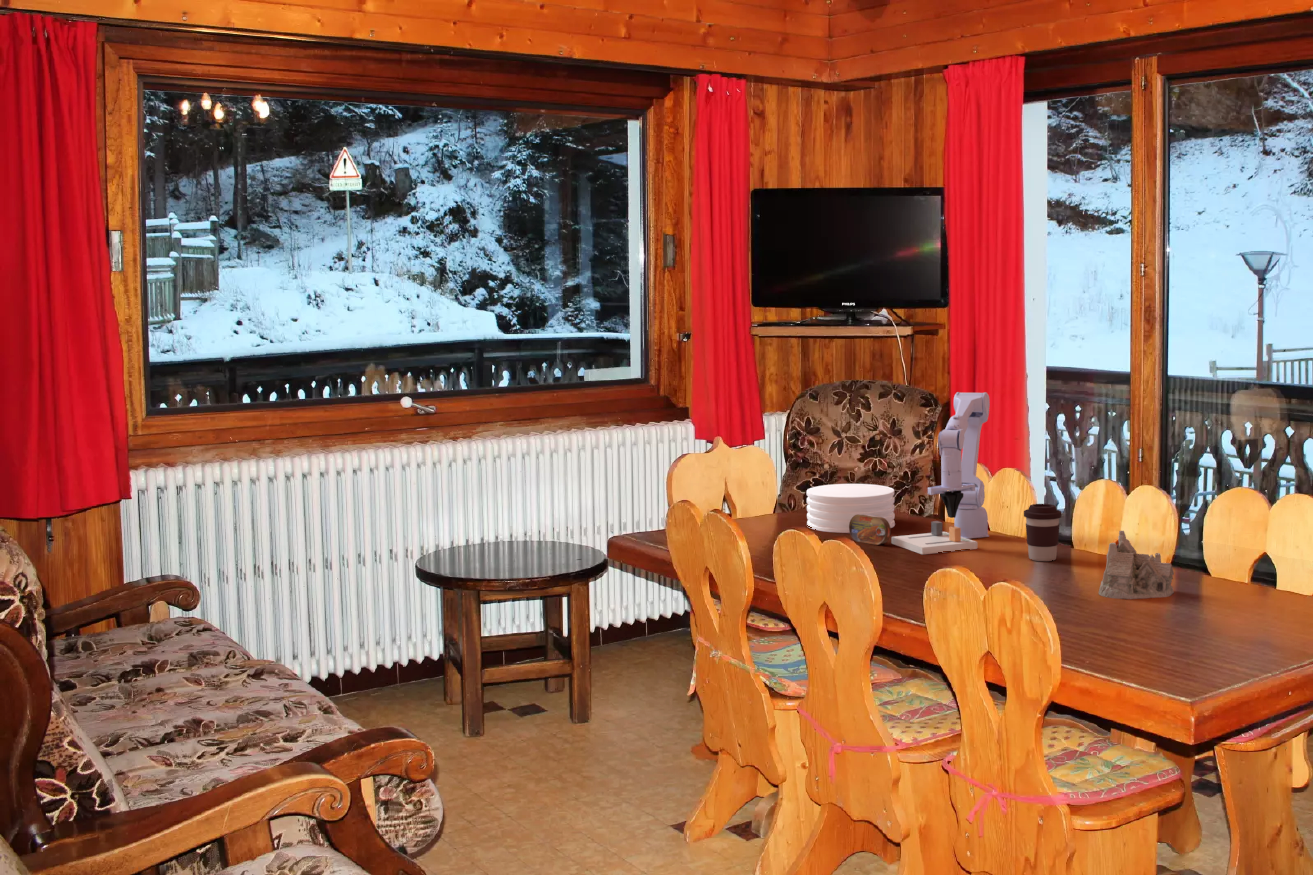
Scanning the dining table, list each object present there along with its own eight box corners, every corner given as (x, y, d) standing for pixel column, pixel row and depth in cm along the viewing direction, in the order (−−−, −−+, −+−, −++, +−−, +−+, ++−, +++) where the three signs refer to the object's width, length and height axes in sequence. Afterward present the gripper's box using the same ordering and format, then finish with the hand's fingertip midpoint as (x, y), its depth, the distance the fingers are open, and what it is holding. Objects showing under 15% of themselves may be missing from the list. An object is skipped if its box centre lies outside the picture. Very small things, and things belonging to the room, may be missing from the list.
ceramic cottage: (1089, 594, 310) (1094, 533, 308) (1118, 584, 322) (1123, 526, 320) (1152, 607, 300) (1158, 545, 298) (1180, 597, 312) (1186, 536, 310)
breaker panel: (944, 538, 385) (944, 531, 385) (977, 548, 368) (977, 541, 368) (891, 543, 380) (891, 536, 380) (922, 554, 363) (922, 547, 363)
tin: (848, 540, 387) (848, 512, 386) (855, 538, 389) (855, 511, 388) (885, 547, 375) (884, 519, 374) (892, 545, 377) (892, 517, 376)
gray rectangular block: (937, 533, 382) (937, 520, 381) (942, 535, 379) (942, 522, 378) (931, 534, 381) (931, 521, 381) (936, 535, 378) (936, 523, 378)
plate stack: (800, 532, 403) (799, 496, 402) (815, 516, 430) (814, 483, 429) (889, 534, 395) (888, 497, 394) (899, 518, 422) (898, 484, 420)
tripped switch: (955, 539, 372) (955, 526, 372) (960, 541, 369) (960, 528, 369) (949, 540, 372) (949, 526, 371) (954, 541, 369) (954, 528, 368)
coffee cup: (1063, 563, 346) (1063, 508, 344) (1025, 562, 348) (1025, 508, 346) (1059, 555, 356) (1059, 502, 354) (1022, 555, 358) (1022, 502, 356)
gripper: (936, 474, 363) (936, 521, 365) (980, 470, 368) (981, 517, 369) (923, 471, 370) (924, 517, 372) (967, 467, 374) (968, 513, 376)
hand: (951, 517), depth 371 cm, fingers closed
